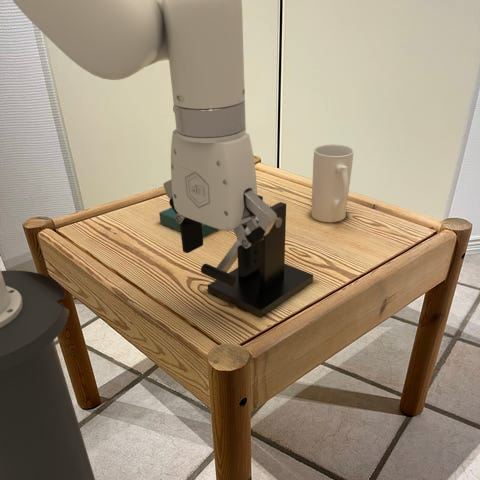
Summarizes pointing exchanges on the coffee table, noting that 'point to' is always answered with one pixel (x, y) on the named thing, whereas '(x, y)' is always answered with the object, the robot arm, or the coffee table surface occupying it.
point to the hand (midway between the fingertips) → (220, 260)
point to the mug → (331, 182)
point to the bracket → (265, 274)
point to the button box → (169, 220)
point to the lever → (225, 264)
